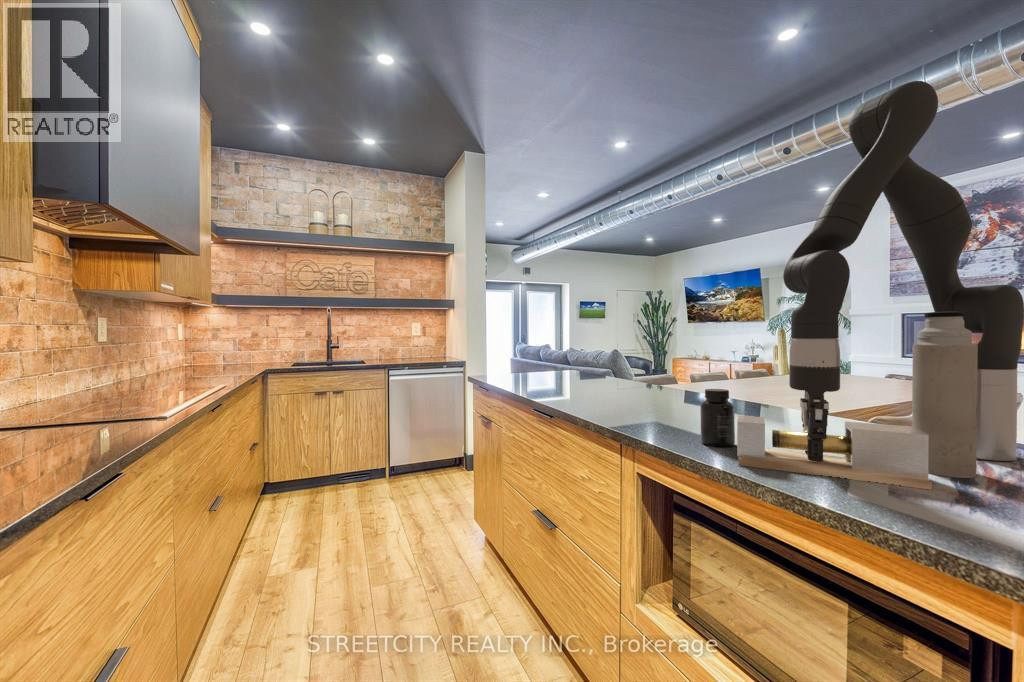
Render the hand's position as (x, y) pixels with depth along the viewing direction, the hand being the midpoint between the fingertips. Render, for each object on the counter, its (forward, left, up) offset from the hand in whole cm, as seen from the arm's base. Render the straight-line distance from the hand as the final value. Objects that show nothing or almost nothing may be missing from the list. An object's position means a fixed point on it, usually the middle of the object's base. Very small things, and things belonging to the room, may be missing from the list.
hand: (813, 457), depth 78 cm
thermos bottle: (-8, +19, -2) cm, 21 cm away
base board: (0, +1, -2) cm, 2 cm away
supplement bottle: (-10, -17, -2) cm, 19 cm away
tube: (0, +2, +1) cm, 2 cm away
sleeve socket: (0, +1, -1) cm, 1 cm away
